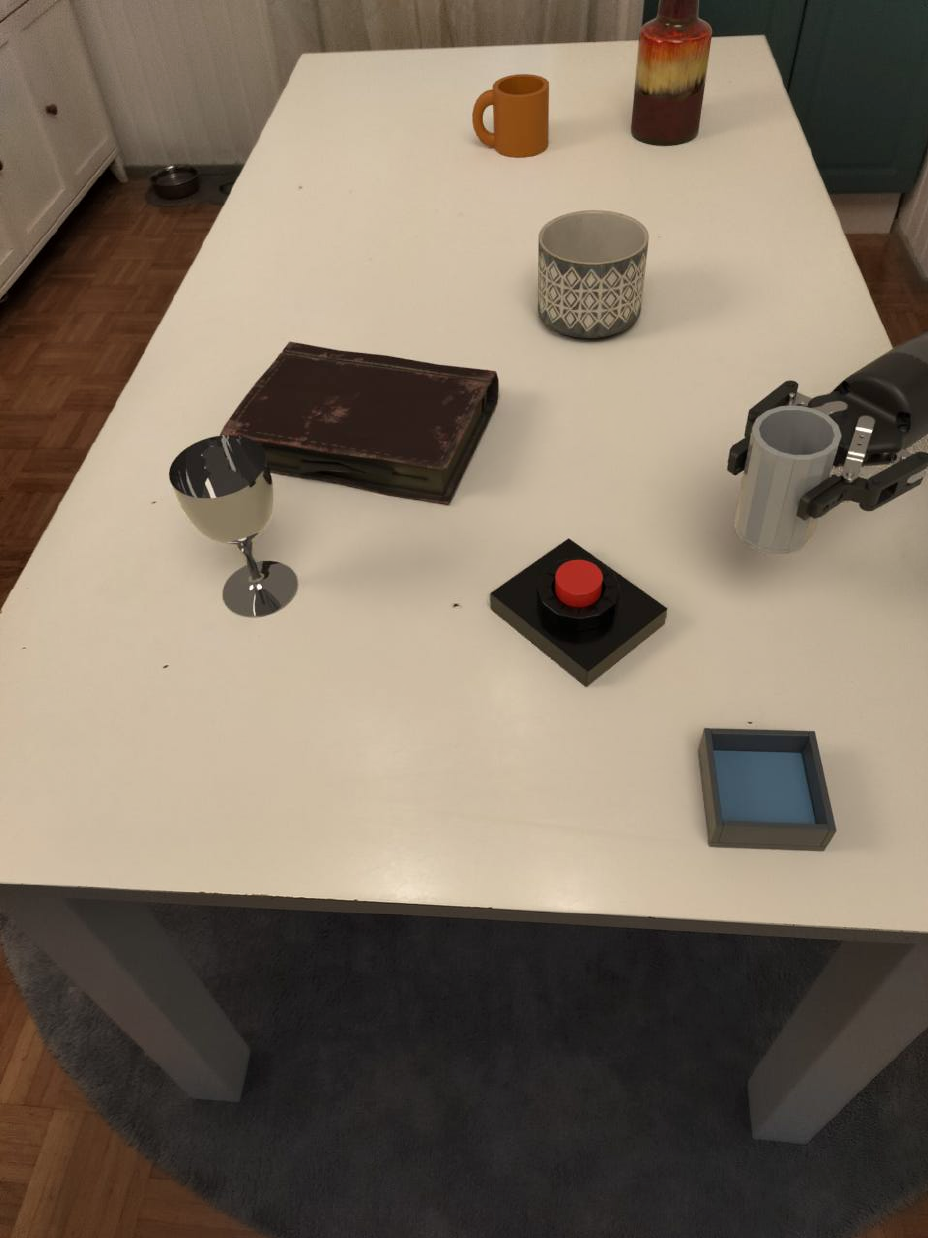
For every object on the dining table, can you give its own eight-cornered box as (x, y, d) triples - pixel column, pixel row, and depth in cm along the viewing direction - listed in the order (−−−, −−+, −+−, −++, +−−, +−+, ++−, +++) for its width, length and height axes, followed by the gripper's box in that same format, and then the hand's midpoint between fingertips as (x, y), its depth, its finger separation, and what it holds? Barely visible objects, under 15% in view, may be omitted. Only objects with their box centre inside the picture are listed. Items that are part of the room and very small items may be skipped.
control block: (665, 624, 78) (670, 594, 75) (586, 687, 74) (588, 658, 71) (567, 554, 84) (569, 523, 81) (490, 609, 80) (488, 579, 77)
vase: (683, 150, 139) (703, -3, 123) (620, 139, 142) (631, -11, 127) (708, 124, 144) (730, -25, 129) (646, 114, 148) (660, -32, 133)
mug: (480, 132, 147) (478, 72, 140) (552, 134, 145) (553, 73, 138) (469, 156, 142) (466, 94, 135) (543, 158, 139) (544, 96, 133)
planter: (629, 351, 105) (638, 268, 97) (526, 338, 108) (526, 257, 100) (647, 295, 112) (657, 214, 104) (550, 285, 115) (552, 205, 107)
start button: (611, 590, 76) (612, 576, 75) (578, 615, 74) (579, 601, 73) (577, 566, 78) (578, 552, 77) (545, 589, 77) (545, 576, 75)
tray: (804, 753, 69) (814, 730, 66) (824, 851, 64) (836, 831, 61) (697, 750, 70) (703, 727, 67) (708, 847, 64) (716, 826, 62)
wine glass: (246, 634, 80) (199, 513, 68) (202, 587, 84) (150, 465, 72) (318, 589, 83) (285, 465, 71) (272, 545, 87) (233, 422, 75)
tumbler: (820, 512, 74) (849, 415, 66) (802, 563, 70) (830, 466, 63) (746, 494, 76) (765, 398, 68) (725, 543, 72) (743, 447, 65)
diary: (299, 372, 106) (291, 334, 102) (499, 402, 100) (498, 363, 96) (226, 471, 95) (214, 434, 91) (446, 512, 89) (443, 474, 85)
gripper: (843, 319, 74) (701, 404, 69) (1003, 394, 66) (856, 498, 61) (824, 393, 80) (691, 477, 74) (968, 471, 72) (831, 571, 66)
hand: (766, 486), depth 68 cm, fingers closed on tumbler, 6 cm apart
